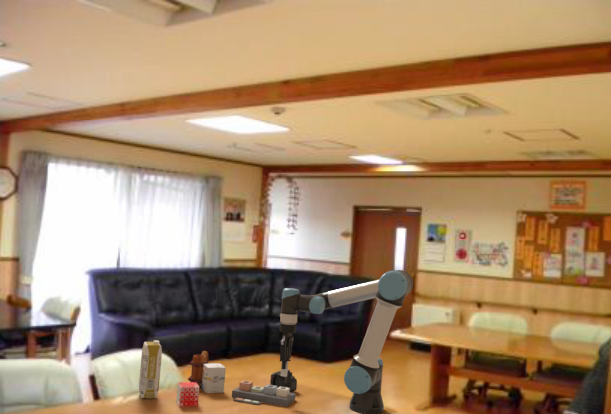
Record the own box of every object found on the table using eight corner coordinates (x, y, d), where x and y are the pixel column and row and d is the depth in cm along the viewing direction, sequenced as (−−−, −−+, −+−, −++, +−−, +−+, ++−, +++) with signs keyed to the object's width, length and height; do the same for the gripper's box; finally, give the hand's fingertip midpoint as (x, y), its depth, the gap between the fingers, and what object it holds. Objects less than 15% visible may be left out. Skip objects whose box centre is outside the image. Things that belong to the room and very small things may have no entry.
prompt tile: (261, 403, 264) (261, 401, 264) (258, 405, 261) (258, 403, 261) (236, 399, 268) (236, 397, 268) (233, 400, 265) (233, 398, 265)
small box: (176, 401, 258) (177, 382, 259) (194, 400, 261) (196, 382, 261) (179, 406, 251) (180, 387, 251) (197, 406, 254) (199, 387, 254)
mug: (201, 389, 280) (204, 356, 280) (185, 386, 281) (187, 354, 282) (212, 382, 294) (215, 351, 294) (196, 379, 296) (199, 349, 296)
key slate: (276, 393, 273) (277, 385, 273) (273, 396, 268) (273, 387, 268) (267, 392, 274) (267, 383, 274) (263, 394, 270) (264, 386, 270)
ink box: (201, 388, 281) (203, 363, 281) (218, 387, 284) (220, 362, 285) (206, 393, 273) (208, 367, 274) (224, 392, 277) (226, 367, 277)
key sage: (264, 395, 274) (264, 387, 275) (260, 397, 270) (260, 389, 270) (254, 393, 276) (255, 385, 276) (250, 396, 271) (251, 387, 272)
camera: (265, 390, 287) (267, 369, 287) (273, 385, 296) (275, 365, 297) (292, 394, 283) (294, 373, 283) (299, 389, 292) (300, 369, 293)
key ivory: (289, 396, 271) (289, 387, 271) (285, 398, 266) (286, 389, 267) (279, 394, 272) (280, 385, 272) (276, 396, 268) (276, 388, 268)
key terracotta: (252, 389, 276) (252, 381, 276) (248, 392, 272) (248, 383, 272) (242, 388, 278) (243, 379, 278) (238, 390, 273) (239, 382, 274)
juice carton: (158, 399, 259) (163, 342, 260) (139, 399, 256) (144, 342, 257) (155, 393, 268) (160, 338, 269) (137, 393, 265) (142, 338, 266)
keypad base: (295, 400, 274) (295, 393, 274) (286, 406, 262) (286, 399, 262) (242, 391, 282) (242, 384, 282) (231, 397, 270) (232, 390, 270)
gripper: (285, 320, 278) (280, 371, 277) (275, 323, 266) (270, 377, 265) (300, 322, 276) (296, 374, 275) (291, 325, 263) (286, 380, 262)
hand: (283, 376), depth 270 cm, fingers closed
